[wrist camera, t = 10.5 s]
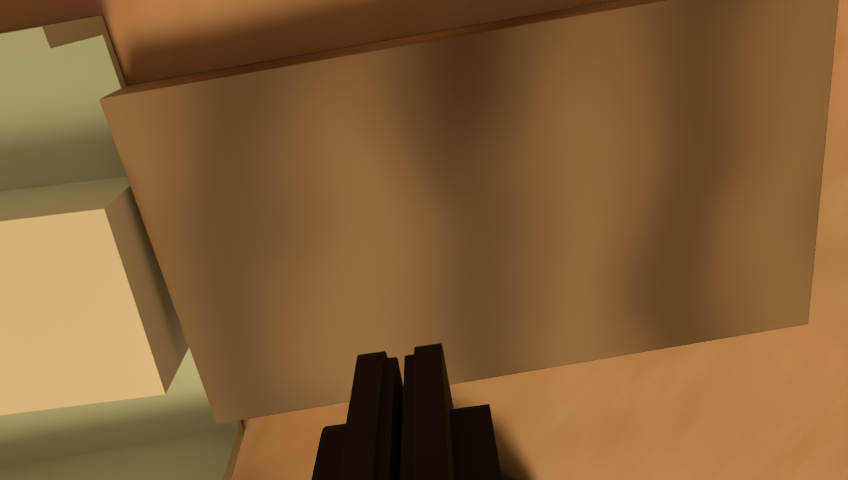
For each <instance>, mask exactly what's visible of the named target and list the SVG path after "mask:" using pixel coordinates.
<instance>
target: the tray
mask: <svg viewBox="0 0 848 480" xmlns="http://www.w3.org/2000/svg"><path fill="white" fill-rule="evenodd" d="M125 86H126V84H125V81H124V78H123V75H122V72H121V69H120V66H119V64H118V61H117V58H116V55H115V52H114V49H113V46H112V43H111V40H110V37H109V34H108V32H107V29H106V26H105V23H104V20H103V17H102V15H100V16H95V17H89V18H83V19H78V20H72V21H66V22H60V23H55V24H49V25H43V26H37V27H32V28H26V29H20V30H15V31H9V32H3V33H0V192H2V191H10V190H18V189H26V188H35V187H43V186H51V185H59V184H67V183H75V182H84V181H92V180H100V179H108V178H116V177H124V176H127V175H126V172H125V170H124V167H123V164H122V161H121V159H120V156H119V153H118V150H117V148H116V145H115V142H114V139H113V137H112V134H111V131H110V128H109V126H108V123H107V120H106V117H105V115H104V112H103V109H102V106H101V104H100V101H99V99H100V98H102V97H104V96H106V95H108V94H110V93H112V92H114V91H117V90H119V89H121V88H123V87H125ZM244 432H245V430H244V428H243V425H242V422H241V420H238V421H232V422H226V423H221V424H217V423H216V420H215V417H214V414H213V412H212V409H211V406H210V403H209V401H208V398H207V395H206V392H205V390H204V387H203V384H202V381H201V379H200V376H199V373H198V370H197V368H196V365H195V362H194V359H193V357H192V354H191V351H190V348H188V350H187V352H186V354H185V356H184V358H183V360H182V362H181V364H180V366H179V368H178V370H177V372H176V374H175V376H174V378H173V380H172V382H171V384H170V386H169V388H168V390H167V392H166V394H165V395H157V396H149V397H141V398H133V399H125V400H117V401H109V402H102V403H94V404H86V405H78V406H70V407H62V408H54V409H46V410H38V411H30V412H23V413H15V414H7V415H0V480H231V476H232V473H233V469H234V466H235V463H236V459H237V456H238V452H239V449H240V445H241V442H242V439H243V435H244Z"/></svg>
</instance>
